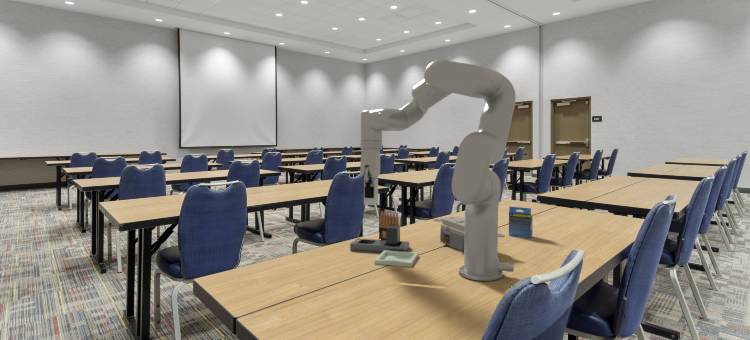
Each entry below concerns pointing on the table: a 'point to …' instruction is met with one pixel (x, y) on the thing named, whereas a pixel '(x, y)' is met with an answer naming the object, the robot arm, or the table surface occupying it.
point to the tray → (396, 258)
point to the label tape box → (520, 222)
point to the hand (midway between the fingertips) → (371, 196)
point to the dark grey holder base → (382, 242)
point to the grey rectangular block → (374, 200)
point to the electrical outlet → (454, 232)
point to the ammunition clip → (387, 223)
